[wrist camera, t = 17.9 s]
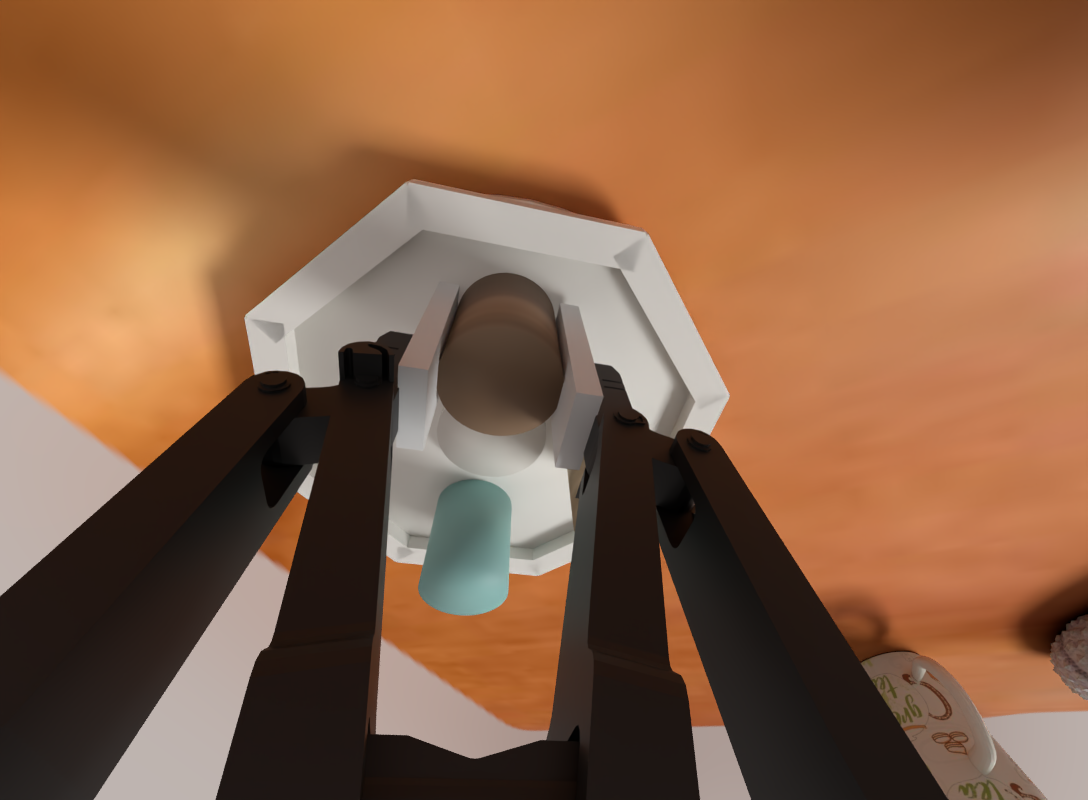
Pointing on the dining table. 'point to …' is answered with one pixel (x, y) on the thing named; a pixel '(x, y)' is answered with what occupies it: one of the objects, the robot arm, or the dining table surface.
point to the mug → (947, 729)
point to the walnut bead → (502, 357)
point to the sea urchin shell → (1072, 656)
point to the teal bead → (468, 549)
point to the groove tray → (459, 258)
